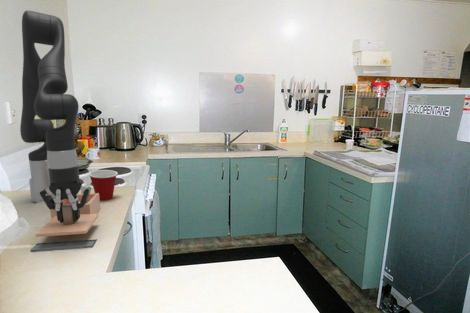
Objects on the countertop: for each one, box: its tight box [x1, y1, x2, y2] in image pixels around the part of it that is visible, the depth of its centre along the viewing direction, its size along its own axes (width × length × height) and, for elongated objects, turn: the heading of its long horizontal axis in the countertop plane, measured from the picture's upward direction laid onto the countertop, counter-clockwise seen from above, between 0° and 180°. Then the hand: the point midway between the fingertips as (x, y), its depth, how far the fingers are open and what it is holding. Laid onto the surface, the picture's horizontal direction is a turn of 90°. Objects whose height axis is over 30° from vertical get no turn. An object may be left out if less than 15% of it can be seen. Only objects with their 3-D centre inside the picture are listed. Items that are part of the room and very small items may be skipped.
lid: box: [35, 204, 99, 238], centre depth 89 cm, size 13×13×6 cm
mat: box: [30, 239, 98, 253], centre depth 90 cm, size 16×14×1 cm
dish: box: [49, 192, 101, 220], centre depth 105 cm, size 12×12×7 cm
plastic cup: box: [88, 169, 118, 202], centre depth 123 cm, size 11×11×12 cm
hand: (69, 220), depth 89 cm, fingers closed on lid, 3 cm apart
